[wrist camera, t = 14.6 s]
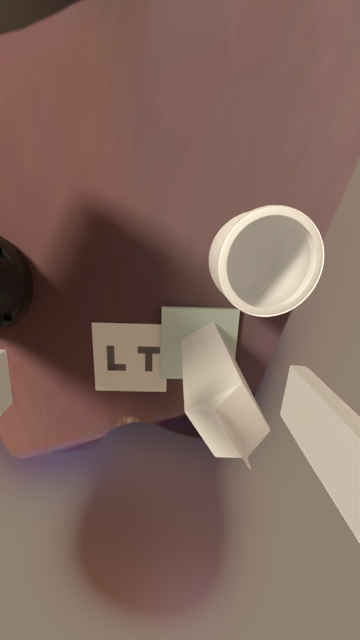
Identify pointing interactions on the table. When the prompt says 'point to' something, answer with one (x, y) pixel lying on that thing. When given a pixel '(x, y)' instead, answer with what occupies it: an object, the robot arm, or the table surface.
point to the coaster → (186, 322)
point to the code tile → (127, 357)
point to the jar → (267, 260)
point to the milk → (219, 396)
